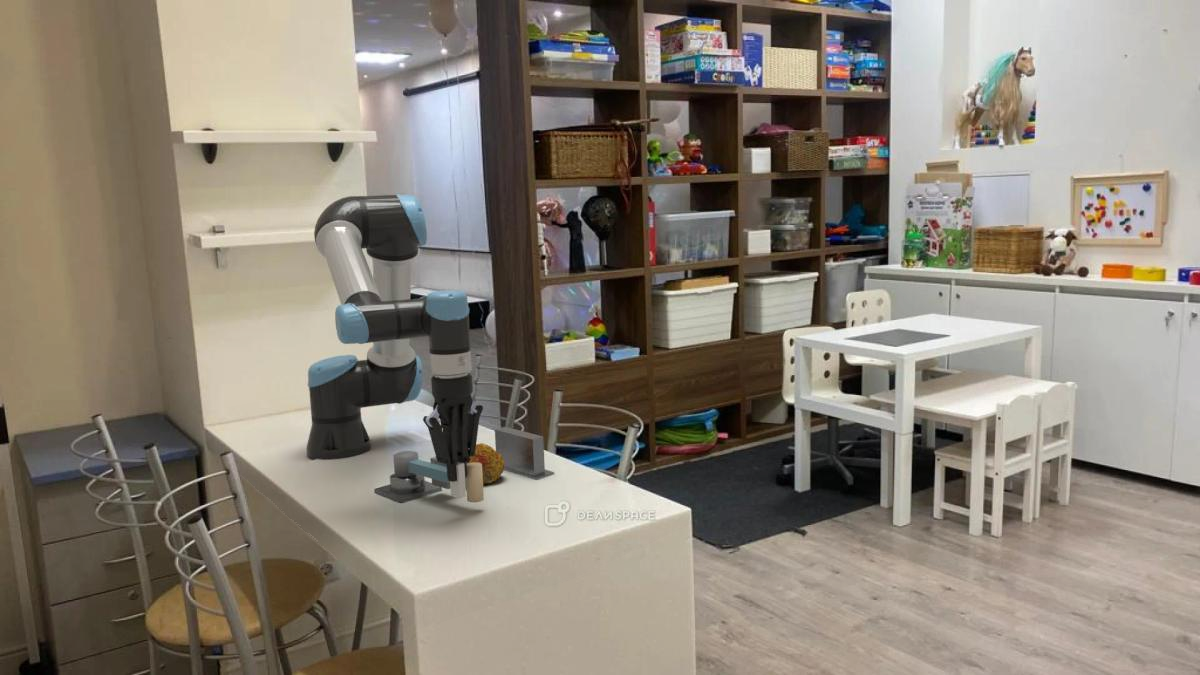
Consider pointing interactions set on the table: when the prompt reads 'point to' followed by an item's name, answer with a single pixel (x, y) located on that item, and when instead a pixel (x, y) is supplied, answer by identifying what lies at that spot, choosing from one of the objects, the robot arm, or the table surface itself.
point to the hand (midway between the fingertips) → (458, 495)
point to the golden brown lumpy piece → (488, 462)
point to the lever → (439, 473)
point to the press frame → (512, 444)
